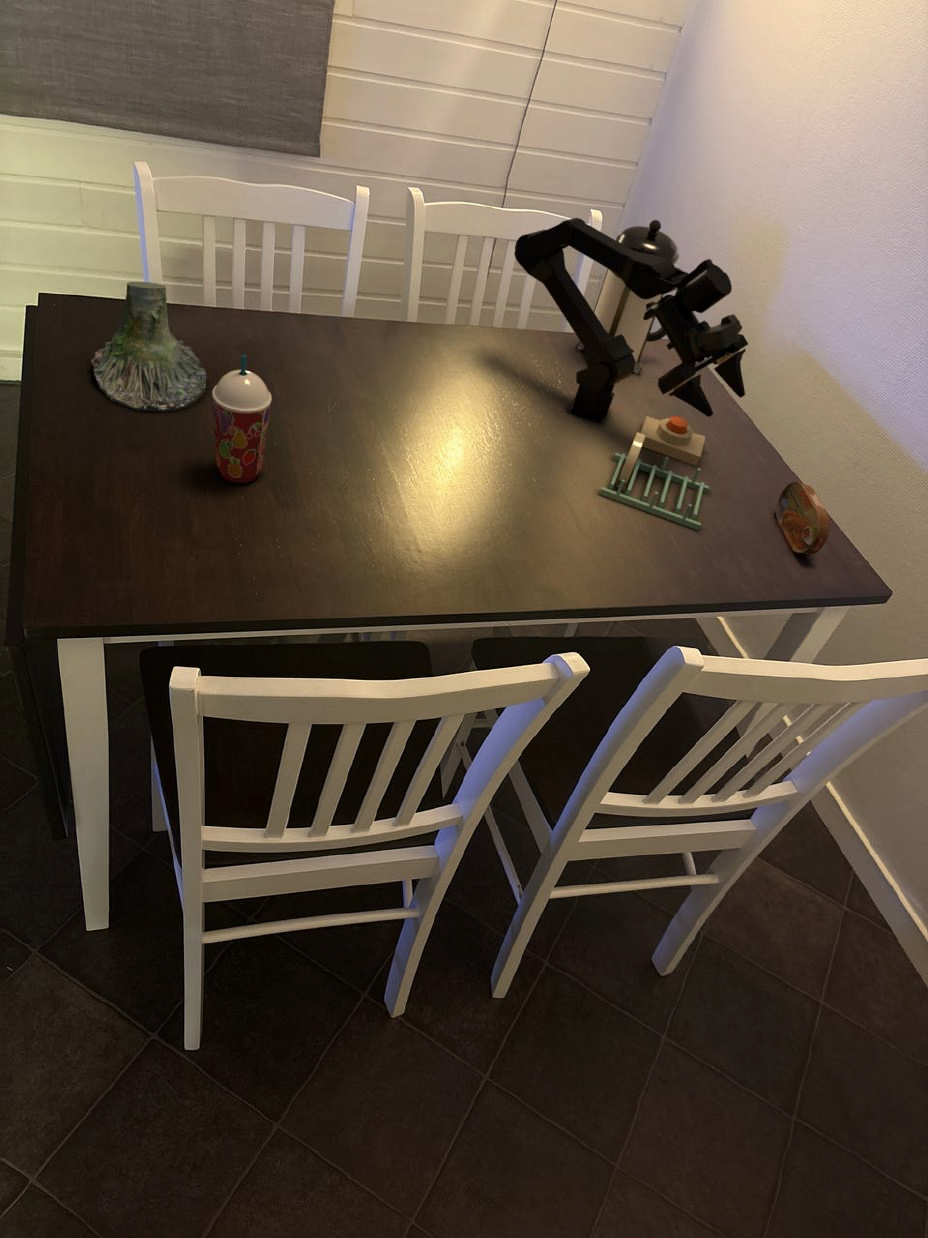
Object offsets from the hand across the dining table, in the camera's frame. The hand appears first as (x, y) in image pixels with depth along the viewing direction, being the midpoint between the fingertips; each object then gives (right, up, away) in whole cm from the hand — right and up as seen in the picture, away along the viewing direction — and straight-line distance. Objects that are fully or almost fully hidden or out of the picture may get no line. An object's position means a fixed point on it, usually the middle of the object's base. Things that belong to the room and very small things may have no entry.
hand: (727, 405), depth 156 cm
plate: (-18, -13, +4) cm, 22 cm away
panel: (-6, -4, +16) cm, 18 cm away
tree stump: (-99, +4, -4) cm, 100 cm away
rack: (-12, -15, +3) cm, 19 cm away
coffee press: (-14, +19, +38) cm, 44 cm away
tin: (+12, -23, +2) cm, 26 cm away
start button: (-6, -1, +14) cm, 15 cm away
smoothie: (-81, -15, -17) cm, 84 cm away
